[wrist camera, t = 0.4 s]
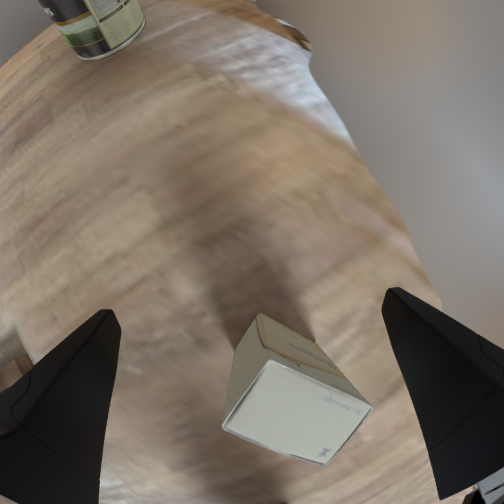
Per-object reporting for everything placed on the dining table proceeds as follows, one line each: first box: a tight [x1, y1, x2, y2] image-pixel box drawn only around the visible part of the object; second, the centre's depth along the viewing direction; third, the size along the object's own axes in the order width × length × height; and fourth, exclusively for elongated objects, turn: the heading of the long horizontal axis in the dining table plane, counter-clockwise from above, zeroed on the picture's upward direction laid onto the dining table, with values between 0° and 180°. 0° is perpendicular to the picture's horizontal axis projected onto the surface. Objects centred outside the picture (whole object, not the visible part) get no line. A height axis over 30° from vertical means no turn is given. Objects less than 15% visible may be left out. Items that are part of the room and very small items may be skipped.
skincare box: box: [222, 312, 373, 466], centre depth 17 cm, size 6×4×12 cm
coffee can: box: [38, 0, 145, 61], centre depth 17 cm, size 10×10×14 cm
